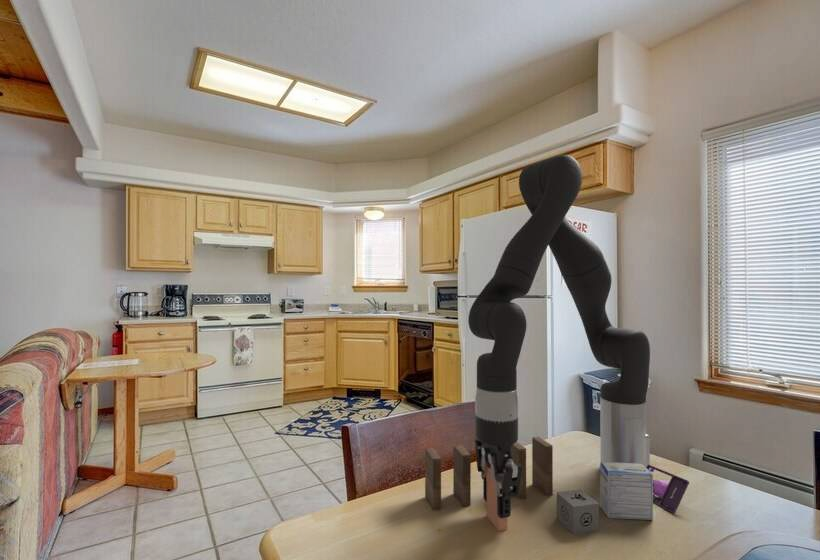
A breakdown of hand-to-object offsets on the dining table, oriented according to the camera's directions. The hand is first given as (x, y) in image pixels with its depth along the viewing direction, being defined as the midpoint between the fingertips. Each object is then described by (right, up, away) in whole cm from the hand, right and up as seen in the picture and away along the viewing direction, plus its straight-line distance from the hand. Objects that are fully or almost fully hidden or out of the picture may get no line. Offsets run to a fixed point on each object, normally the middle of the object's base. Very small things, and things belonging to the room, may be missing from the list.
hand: (496, 507), depth 74 cm
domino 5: (+12, -3, +13) cm, 18 cm away
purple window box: (+37, -1, +4) cm, 37 cm away
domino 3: (0, -3, 0) cm, 3 cm away
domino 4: (+6, -3, +11) cm, 13 cm away
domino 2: (-5, -3, +8) cm, 10 cm away
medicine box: (+25, -3, +4) cm, 25 cm away
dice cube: (+14, -3, 0) cm, 15 cm away
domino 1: (-11, -3, +6) cm, 13 cm away
